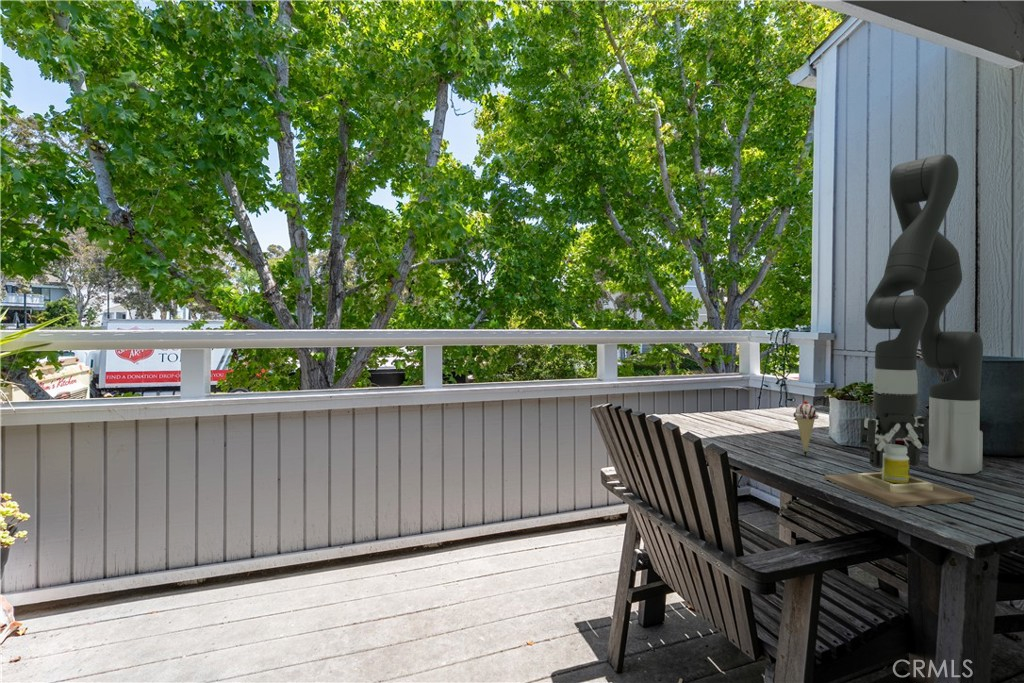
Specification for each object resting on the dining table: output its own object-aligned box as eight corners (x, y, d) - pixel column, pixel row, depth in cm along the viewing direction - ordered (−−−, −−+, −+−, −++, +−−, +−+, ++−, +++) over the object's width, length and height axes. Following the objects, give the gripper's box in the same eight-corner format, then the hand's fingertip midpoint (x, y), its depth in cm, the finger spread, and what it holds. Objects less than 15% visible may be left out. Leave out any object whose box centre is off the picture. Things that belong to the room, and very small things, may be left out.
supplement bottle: (914, 489, 106) (914, 449, 106) (888, 488, 107) (888, 448, 106) (901, 482, 110) (901, 443, 110) (877, 481, 111) (877, 443, 111)
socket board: (894, 475, 119) (894, 464, 119) (974, 501, 101) (974, 489, 101) (824, 479, 116) (824, 468, 116) (894, 507, 98) (894, 494, 98)
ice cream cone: (822, 459, 134) (822, 402, 133) (800, 459, 134) (800, 402, 133) (809, 454, 139) (810, 399, 139) (788, 454, 139) (789, 399, 139)
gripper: (908, 387, 113) (907, 460, 113) (850, 389, 111) (850, 463, 111) (941, 391, 105) (940, 469, 106) (880, 393, 103) (879, 473, 104)
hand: (894, 466), depth 108 cm, fingers open, 8 cm apart
